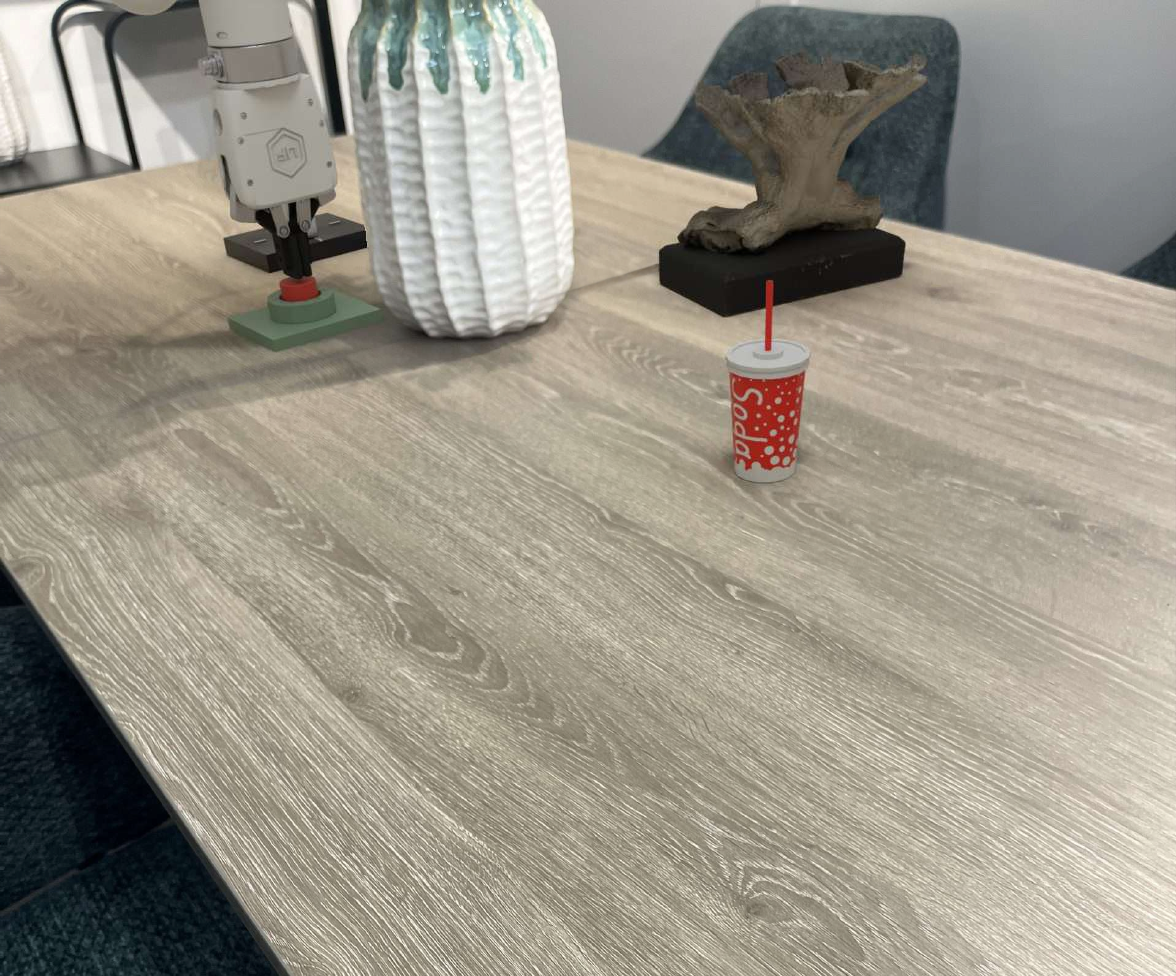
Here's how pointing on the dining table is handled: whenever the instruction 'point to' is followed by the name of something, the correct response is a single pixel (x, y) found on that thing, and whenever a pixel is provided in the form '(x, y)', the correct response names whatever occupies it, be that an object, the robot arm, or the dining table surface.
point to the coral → (791, 188)
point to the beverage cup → (766, 402)
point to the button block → (303, 319)
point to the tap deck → (330, 242)
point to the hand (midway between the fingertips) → (298, 274)
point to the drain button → (298, 289)
